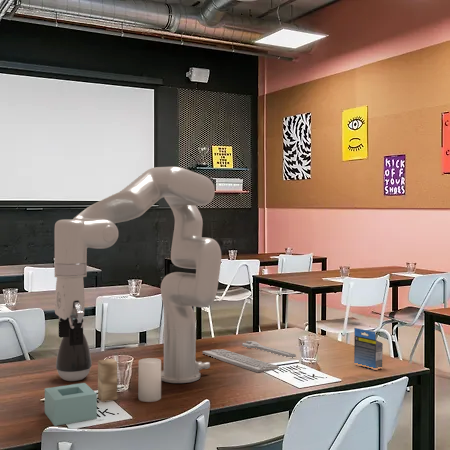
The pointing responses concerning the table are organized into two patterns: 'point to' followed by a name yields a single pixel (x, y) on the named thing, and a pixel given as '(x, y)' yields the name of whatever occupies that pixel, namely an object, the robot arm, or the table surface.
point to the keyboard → (241, 360)
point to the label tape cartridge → (367, 349)
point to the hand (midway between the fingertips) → (70, 340)
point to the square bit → (107, 380)
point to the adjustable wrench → (267, 349)
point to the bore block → (70, 404)
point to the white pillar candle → (149, 380)
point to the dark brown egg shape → (73, 360)
